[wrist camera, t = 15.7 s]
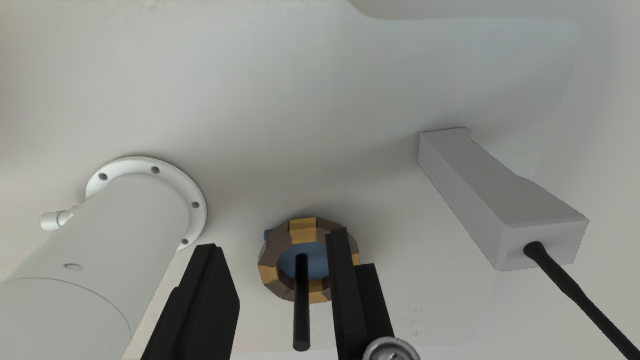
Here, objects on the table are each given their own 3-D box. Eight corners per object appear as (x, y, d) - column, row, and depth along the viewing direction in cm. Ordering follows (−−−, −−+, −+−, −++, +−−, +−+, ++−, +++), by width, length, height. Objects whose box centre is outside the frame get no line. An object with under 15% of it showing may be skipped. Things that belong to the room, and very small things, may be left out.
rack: (276, 277, 43) (267, 376, 31) (264, 230, 39) (249, 323, 28) (335, 270, 43) (347, 366, 31) (329, 222, 39) (341, 312, 28)
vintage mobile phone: (461, 157, 36) (716, 403, 14) (416, 162, 36) (600, 415, 14) (465, 125, 34) (767, 350, 12) (418, 131, 34) (633, 364, 12)
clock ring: (271, 296, 43) (269, 308, 41) (251, 224, 37) (248, 235, 35) (360, 285, 43) (362, 297, 41) (354, 211, 37) (356, 222, 35)
